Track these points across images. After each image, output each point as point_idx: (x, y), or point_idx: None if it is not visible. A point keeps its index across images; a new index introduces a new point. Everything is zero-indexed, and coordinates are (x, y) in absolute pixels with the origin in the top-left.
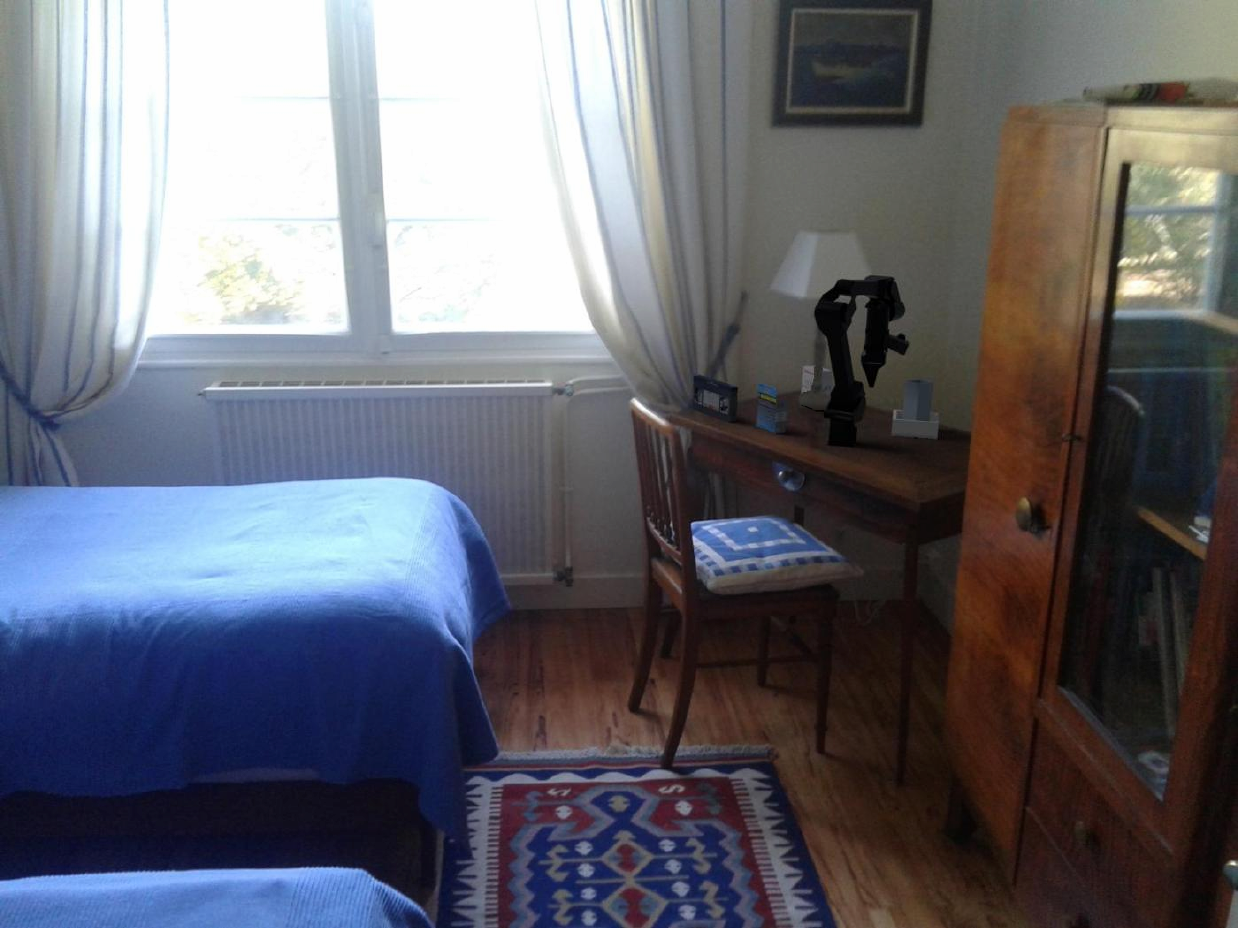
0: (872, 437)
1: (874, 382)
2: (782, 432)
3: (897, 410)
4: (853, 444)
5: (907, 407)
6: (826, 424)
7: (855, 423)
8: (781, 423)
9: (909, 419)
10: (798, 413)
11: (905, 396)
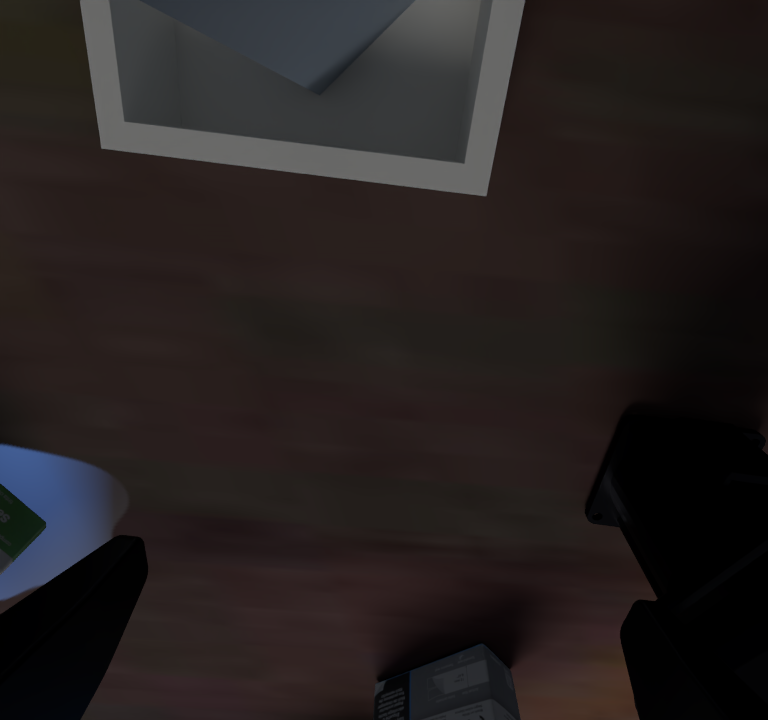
0: (528, 310)
1: (742, 687)
2: (491, 652)
3: (116, 113)
4: (754, 435)
5: (318, 13)
6: (289, 502)
7: (739, 496)
8: (505, 700)
9: (371, 10)
10: None
11: (241, 21)
